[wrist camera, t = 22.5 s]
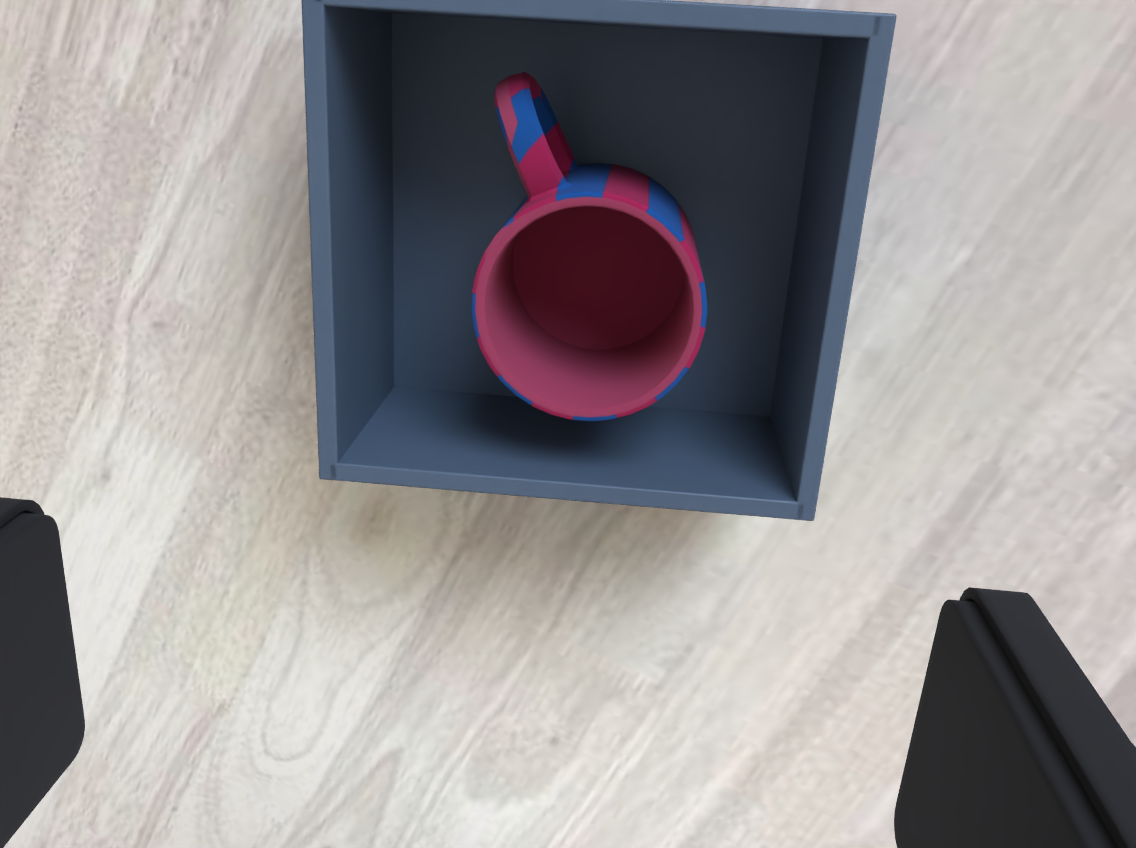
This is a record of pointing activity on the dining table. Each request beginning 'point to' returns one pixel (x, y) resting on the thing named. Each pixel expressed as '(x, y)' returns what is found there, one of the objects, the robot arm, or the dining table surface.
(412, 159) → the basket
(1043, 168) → the dining table surface
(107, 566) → the dining table surface
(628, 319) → the cup
